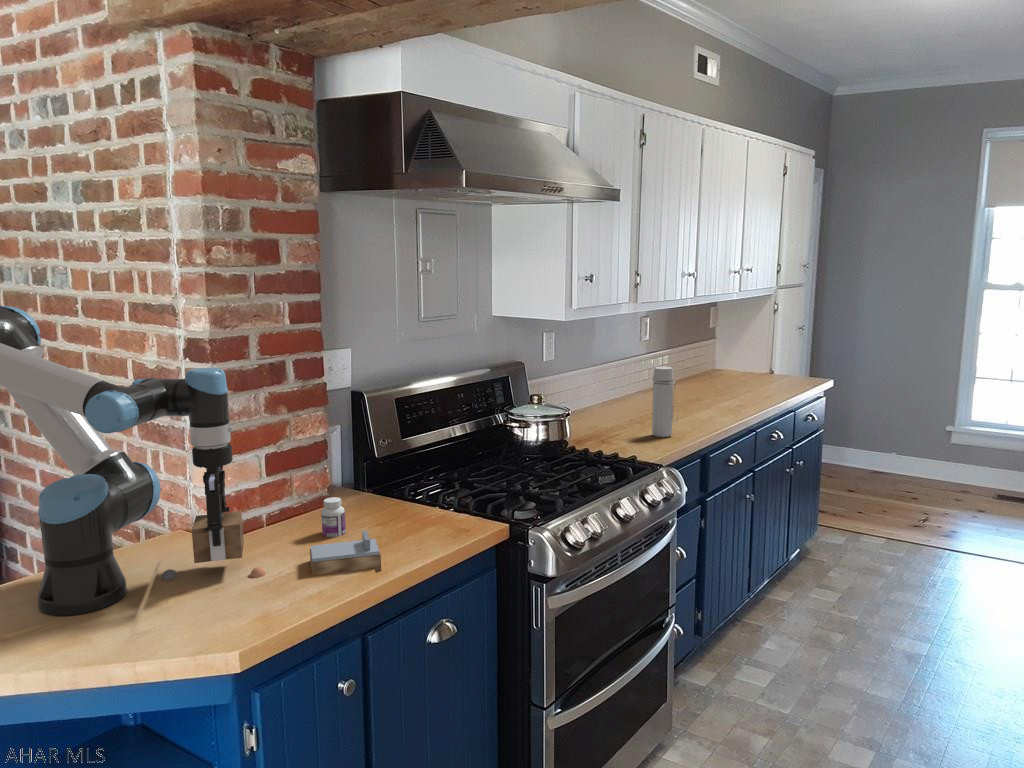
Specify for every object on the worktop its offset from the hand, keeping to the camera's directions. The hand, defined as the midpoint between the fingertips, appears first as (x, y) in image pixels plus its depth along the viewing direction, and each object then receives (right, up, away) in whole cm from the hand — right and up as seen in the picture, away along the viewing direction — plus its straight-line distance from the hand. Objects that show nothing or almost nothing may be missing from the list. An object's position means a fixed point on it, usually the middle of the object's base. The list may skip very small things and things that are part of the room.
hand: (220, 551), depth 163 cm
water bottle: (+116, +15, +126) cm, 172 cm away
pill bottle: (+18, -2, +23) cm, 29 cm away
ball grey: (-9, -5, -2) cm, 11 cm away
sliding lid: (+25, -1, +3) cm, 25 cm away
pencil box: (+25, -5, +4) cm, 26 cm away
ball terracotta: (+8, -4, -2) cm, 9 cm away
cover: (0, 0, 0) cm, 0 cm away
